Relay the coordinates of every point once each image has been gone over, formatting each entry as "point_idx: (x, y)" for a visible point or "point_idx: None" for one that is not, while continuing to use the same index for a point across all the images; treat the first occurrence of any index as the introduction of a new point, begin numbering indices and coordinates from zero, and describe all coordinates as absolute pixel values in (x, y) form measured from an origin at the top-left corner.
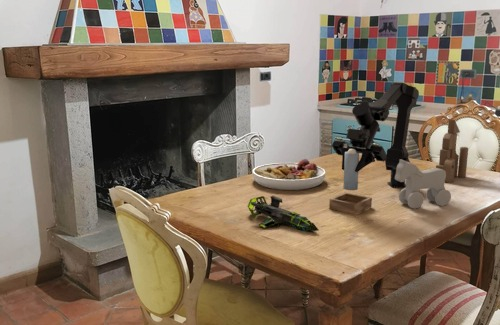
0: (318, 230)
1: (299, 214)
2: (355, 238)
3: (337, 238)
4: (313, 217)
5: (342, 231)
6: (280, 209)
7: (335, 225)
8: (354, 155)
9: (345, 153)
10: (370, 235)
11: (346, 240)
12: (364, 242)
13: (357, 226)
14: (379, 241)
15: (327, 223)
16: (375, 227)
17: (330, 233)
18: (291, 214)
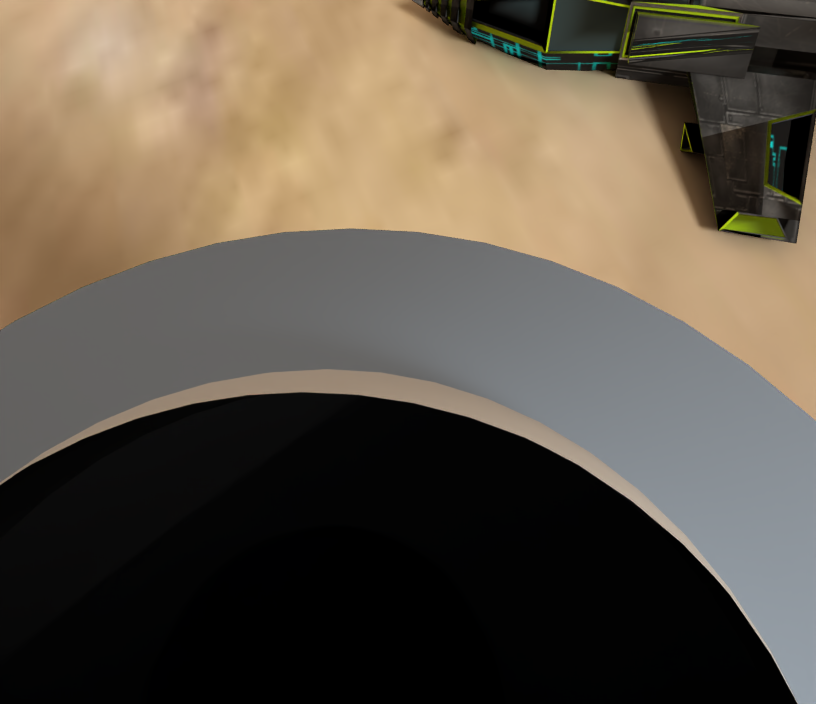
0: (417, 1)
1: (727, 224)
2: (177, 51)
3: (283, 12)
4: (605, 263)
5: (286, 111)
6: (810, 5)
7: (369, 184)
8: (47, 365)
9: (734, 366)
10: (88, 126)
11: (224, 9)
12: (114, 25)
13: (204, 234)
14: (24, 69)
15: (441, 194)
16: (62, 274)
17: (349, 55)
18: (682, 2)
